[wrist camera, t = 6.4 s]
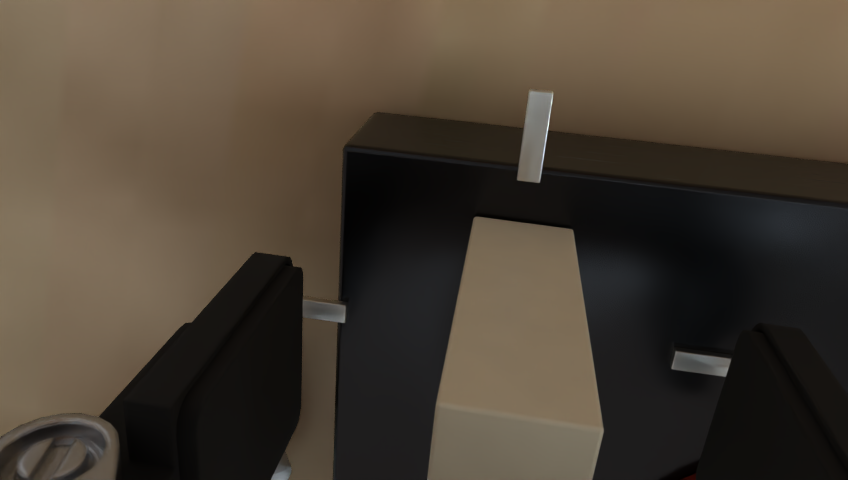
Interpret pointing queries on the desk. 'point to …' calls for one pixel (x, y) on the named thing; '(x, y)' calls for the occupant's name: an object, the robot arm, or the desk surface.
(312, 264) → the desk surface
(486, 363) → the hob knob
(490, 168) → the hob
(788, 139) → the desk surface
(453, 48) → the desk surface
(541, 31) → the desk surface
